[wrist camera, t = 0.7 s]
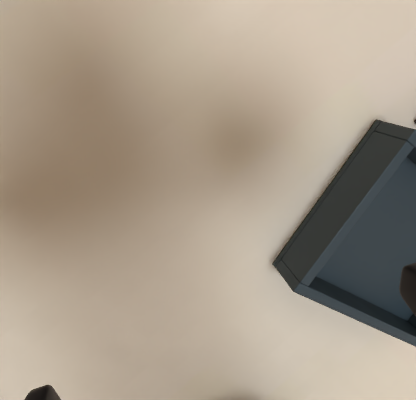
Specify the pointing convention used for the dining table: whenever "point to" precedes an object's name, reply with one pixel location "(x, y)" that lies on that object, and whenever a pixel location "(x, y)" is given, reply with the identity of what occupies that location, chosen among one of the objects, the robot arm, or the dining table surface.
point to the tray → (362, 235)
